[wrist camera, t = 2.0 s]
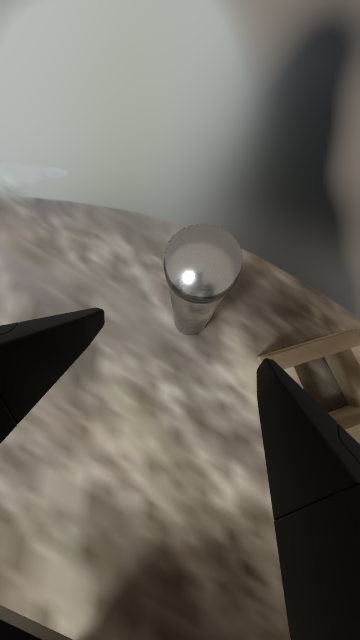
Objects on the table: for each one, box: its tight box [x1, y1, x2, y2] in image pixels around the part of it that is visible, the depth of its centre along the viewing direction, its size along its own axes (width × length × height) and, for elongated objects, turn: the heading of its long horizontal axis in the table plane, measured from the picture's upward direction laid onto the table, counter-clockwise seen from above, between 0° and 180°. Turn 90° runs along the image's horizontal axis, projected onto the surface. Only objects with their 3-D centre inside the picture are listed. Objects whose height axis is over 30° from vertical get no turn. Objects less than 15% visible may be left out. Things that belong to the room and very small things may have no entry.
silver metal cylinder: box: [164, 224, 242, 335], centre depth 15 cm, size 4×4×12 cm
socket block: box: [257, 330, 360, 444], centre depth 17 cm, size 9×9×4 cm
